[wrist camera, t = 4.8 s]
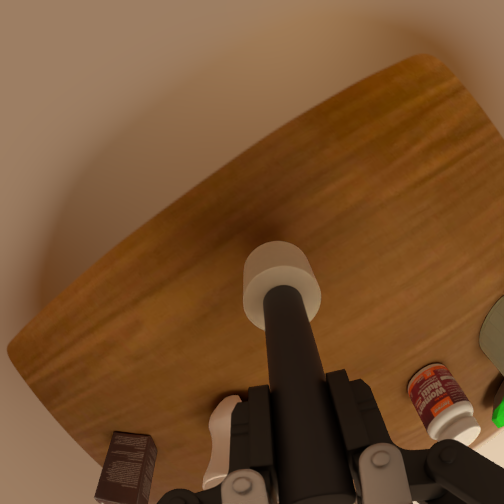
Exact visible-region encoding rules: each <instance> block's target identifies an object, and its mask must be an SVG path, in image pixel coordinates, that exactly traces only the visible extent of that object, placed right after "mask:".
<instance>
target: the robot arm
mask: <svg viewBox="0 0 504 504" xmlns="http://www.w3.org/2000/svg"><path fill="white" fill-rule="evenodd" d="M326 383H327V387H328V391H329V394H330V398H331V402H332V405H333V409H334V413H335V417H336V420H337V424H338V428H339V432H340V436H341V439H342V443H343V447H344V451H345V455H346V459H347V462H348V464H349V468H350V472H351V476H352V479H354V484H355V488H356V496H357V498H356V504H413V503H412V501H417V502H418V503H419V504H504V468H502V467H500V466H499V465H497V464H495V463H494V462H492V461H490V460H489V459H487V458H485V457H484V456H482V455H480V454H479V453H477V452H476V451H474V450H472V449H471V448H469V447H467V446H466V445H464V444H463V443H461V442H459V441H457V440H454V439H444V440H441V441H439V442H437V443H435V444H434V445H433V446H432V447H431V448H430V449H425V450H405V449H402V448H400V447H398V446H396V445H395V444H394V443H393V442H392V440H391V439H390V436H389V434H388V431H387V429H386V426H385V423H384V421H383V418H382V416H381V413H380V411H379V408H378V406H377V403H376V401H375V399H374V396H373V393H372V391H371V388H370V386H368V385H367V384H366V383H365V382H364V381H363V380H362V379H358V380H354V381H350V382H349V379H348V376H347V373H346V371H345V369H342V370H338V371H334V372H329V373H326ZM230 435H231V436H230V453H229V471H228V474H227V476H226V477H225V478H224V480H223V481H222V482H221V483H220V484H218V485H217V486H215V487H213V488H210V489H207V490H204V491H201V492H197V493H193V492H191V491H189V490H187V489H174V490H171V491H169V492H167V493H166V494H164V496H163V497H162V498H161V499H160V500H159V501H158V503H157V504H277V493H278V482H277V465H276V452H275V440H274V427H273V415H272V403H271V393H270V389H269V386H268V385H261V386H255V387H249V389H248V401H245V402H238V403H237V404H236V405H235V407H234V409H233V411H232V413H231V428H230Z"/></svg>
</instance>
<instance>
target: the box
mask: <svg viewBox="0 0 504 504" xmlns="http://www.w3.org/2000/svg"><path fill="white" fill-rule="evenodd" d="M156 455H157V449H156V447H155V444H154V442H153V440H152V438H151V436H143V435H133V434H124V433H117V432H114V434H113V437H112V440H111V443H110V446H109V449H108V452H107V456H106V459H105V462H104V465H103V469H102V473H101V476H100V479H99V483H98V486H97V490H96V493H95V496H94V498H95V499H96V501H98V502H99V503H100V504H148V500H149V494H150V488H151V482H152V477H153V471H154V466H155V460H156Z"/></svg>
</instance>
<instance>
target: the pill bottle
mask: <svg viewBox="0 0 504 504" xmlns="http://www.w3.org/2000/svg"><path fill="white" fill-rule="evenodd" d="M408 394H409V396H410V398H411V401H412V402H413V405H414V406H415V408H416V410H417V412H418V414H419V416H420V418H421V420H422V422H423V424H424V426H425V428H426V430H427V433H428V434H429V436H430V437H431V438H432V439H434V440H438V442H439V441H441V440H444V439H454V440H457V441H459V442H461V443H463V444H464V445H466V446H468V445H470V444H471V443H472V442H473V441H474V440H475V439H476V438H477V436H478V435H479V433H480V430H481V428H480V426H479V424H478V423H477V421H476V419H475V418H474V417H473V416H472V415H473V407H472V405H471V403H470V401H469V400H468V398H467V397H466V395H465V394H464V392H463V391H462V389H461V388H460V386H459V385H458V383H457V382H456V380H455V379H454V378H453V376H452V375H451V373H450V372H449V370H448V369H447V368H446V367H445V366H444V365H442V364H431V365H428V366H426V367H424V368H423V369H421V370H420V371H419V372H417V373H416V374H415V375H414V377H413V378H412V379H411V381H410V382H409V385H408Z"/></svg>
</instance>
